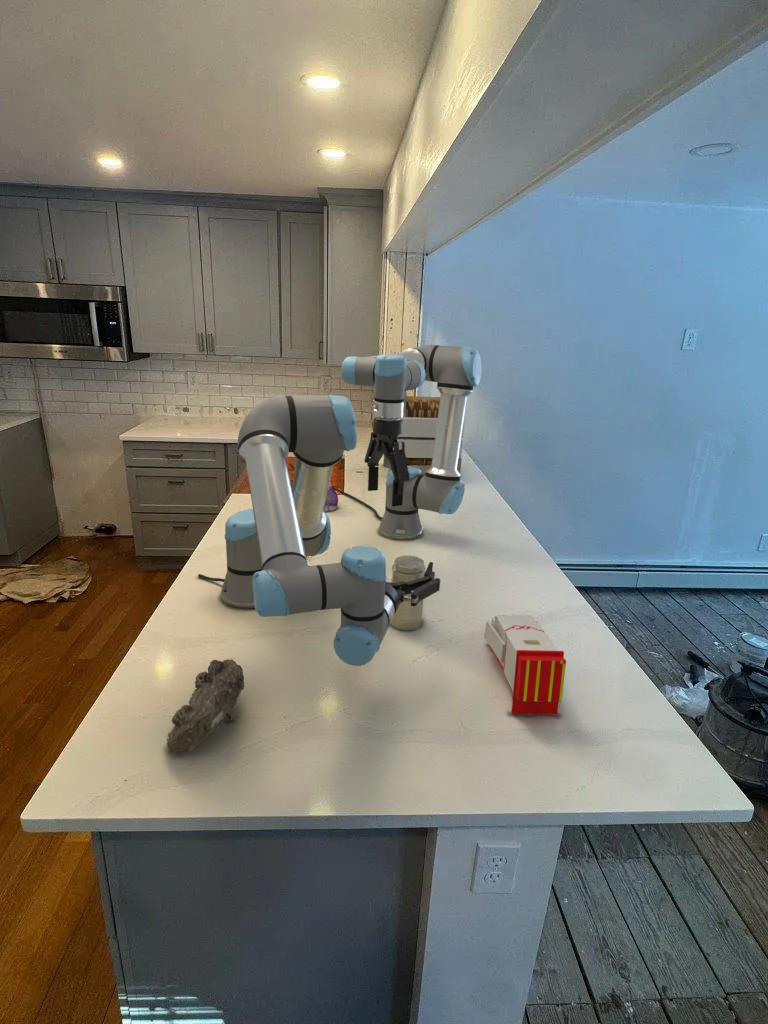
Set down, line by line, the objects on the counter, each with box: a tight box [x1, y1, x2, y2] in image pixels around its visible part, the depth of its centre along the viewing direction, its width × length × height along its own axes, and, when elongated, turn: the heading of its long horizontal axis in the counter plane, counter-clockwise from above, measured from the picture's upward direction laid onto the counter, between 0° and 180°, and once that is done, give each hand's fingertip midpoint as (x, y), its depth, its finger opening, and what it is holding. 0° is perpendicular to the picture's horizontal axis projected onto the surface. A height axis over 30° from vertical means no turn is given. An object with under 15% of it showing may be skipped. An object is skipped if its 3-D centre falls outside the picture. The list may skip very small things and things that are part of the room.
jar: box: [390, 555, 427, 631], centre depth 141 cm, size 8×8×17 cm
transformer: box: [383, 391, 465, 475], centre depth 268 cm, size 34×33×41 cm
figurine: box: [323, 481, 339, 513], centre depth 219 cm, size 9×10×15 cm
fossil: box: [166, 658, 245, 754], centre depth 106 cm, size 22×10×15 cm
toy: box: [484, 614, 567, 716], centre depth 124 cm, size 12×13×30 cm
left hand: (401, 563), depth 128 cm, fingers open, 13 cm apart
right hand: (384, 497), depth 151 cm, fingers open, 13 cm apart
